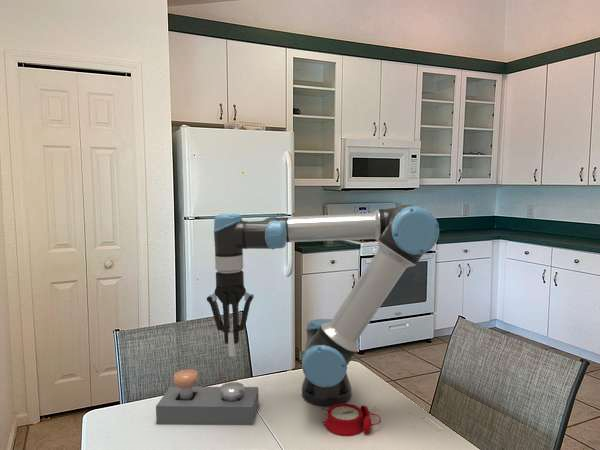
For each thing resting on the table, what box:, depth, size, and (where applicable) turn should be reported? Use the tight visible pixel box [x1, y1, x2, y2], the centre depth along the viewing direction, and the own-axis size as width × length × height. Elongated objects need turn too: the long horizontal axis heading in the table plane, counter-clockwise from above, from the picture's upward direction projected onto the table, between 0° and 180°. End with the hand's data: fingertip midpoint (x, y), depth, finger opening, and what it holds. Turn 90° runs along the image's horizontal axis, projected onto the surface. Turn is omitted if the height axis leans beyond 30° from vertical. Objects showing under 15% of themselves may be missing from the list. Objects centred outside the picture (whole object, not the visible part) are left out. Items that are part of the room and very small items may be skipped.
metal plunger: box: [220, 381, 245, 401], centre depth 125 cm, size 6×6×7 cm
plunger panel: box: [155, 386, 260, 426], centre depth 126 cm, size 26×12×5 cm, turn 88°
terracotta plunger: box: [173, 368, 199, 400], centre depth 126 cm, size 6×6×7 cm
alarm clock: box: [322, 402, 382, 437], centre depth 119 cm, size 10×6×15 cm
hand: (232, 354), depth 124 cm, fingers closed
